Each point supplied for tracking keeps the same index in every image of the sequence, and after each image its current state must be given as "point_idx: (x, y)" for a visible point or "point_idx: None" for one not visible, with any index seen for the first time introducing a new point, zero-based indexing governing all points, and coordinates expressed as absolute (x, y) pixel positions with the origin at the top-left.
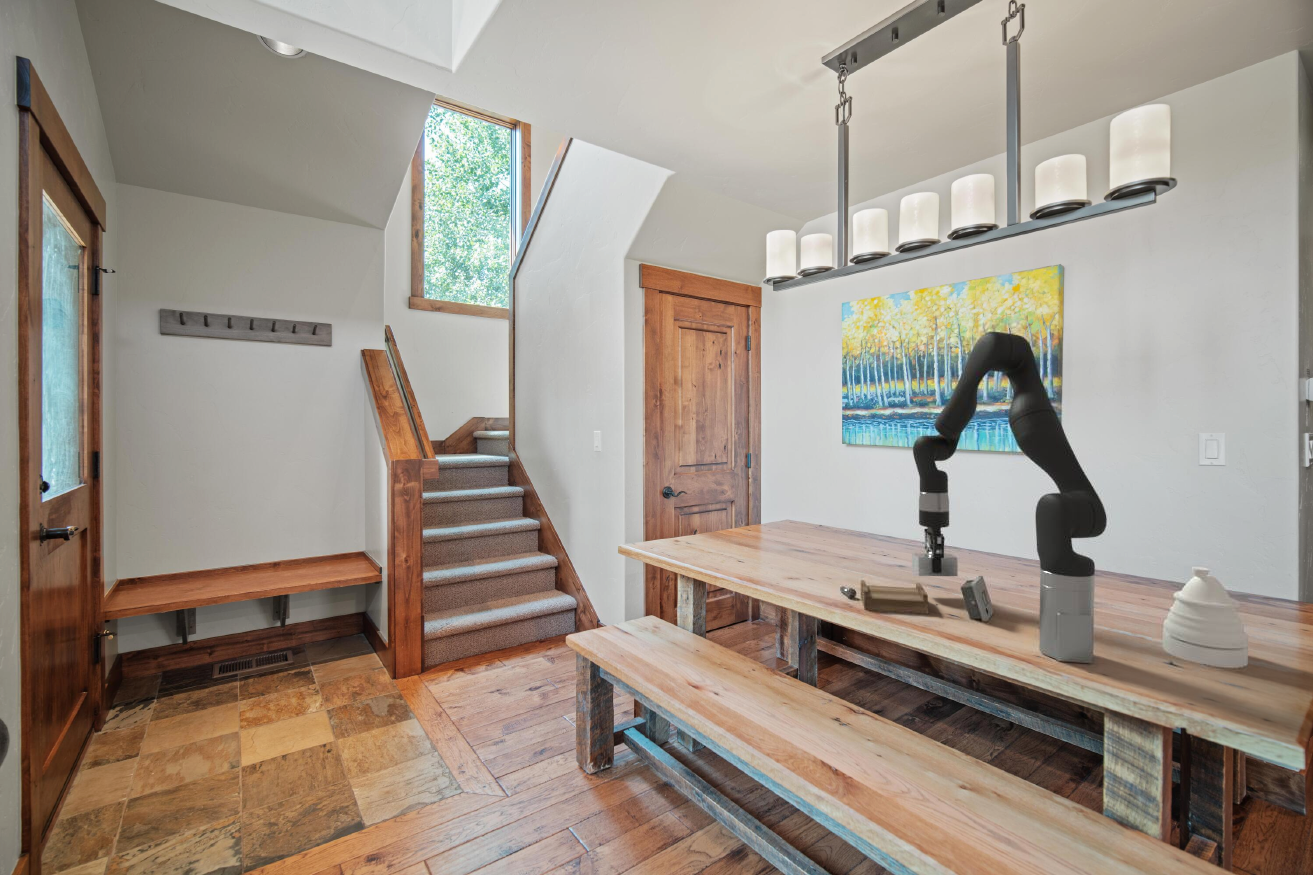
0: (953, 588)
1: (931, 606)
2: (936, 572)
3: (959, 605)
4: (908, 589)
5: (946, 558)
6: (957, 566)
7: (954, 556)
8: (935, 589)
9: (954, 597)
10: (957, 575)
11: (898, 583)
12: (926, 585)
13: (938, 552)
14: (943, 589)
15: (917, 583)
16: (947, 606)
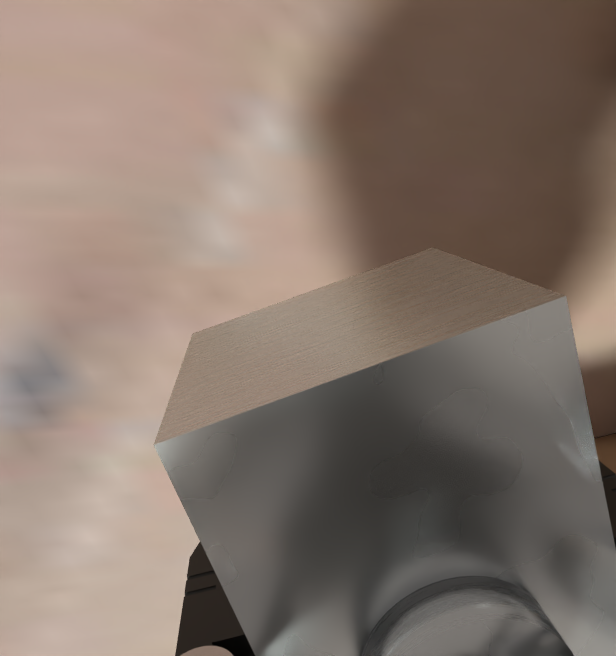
0: (26, 253)
1: (603, 390)
2: None
3: (529, 214)
4: None
5: (593, 468)
6: (482, 266)
7: (453, 350)
8: (141, 390)
9: (324, 247)
10: (436, 249)
11: (95, 638)
12: (44, 461)
13: (458, 649)
14: (108, 332)
15: None
16: (576, 294)
